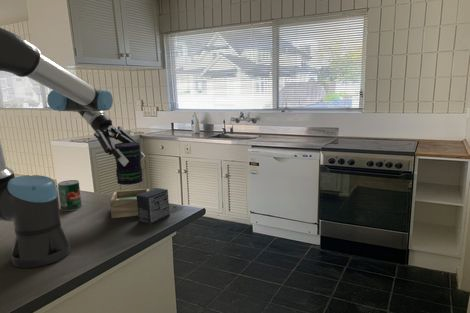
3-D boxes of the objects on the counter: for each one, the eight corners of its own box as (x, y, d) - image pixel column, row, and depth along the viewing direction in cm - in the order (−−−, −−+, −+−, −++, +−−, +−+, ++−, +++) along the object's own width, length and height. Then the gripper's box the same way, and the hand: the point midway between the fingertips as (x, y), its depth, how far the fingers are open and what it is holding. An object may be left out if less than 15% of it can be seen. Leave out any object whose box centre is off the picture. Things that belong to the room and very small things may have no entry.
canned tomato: (66, 205, 148) (63, 180, 146) (84, 204, 148) (82, 179, 146) (57, 211, 140) (54, 185, 138) (77, 210, 140) (74, 184, 138)
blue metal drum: (135, 176, 144) (132, 141, 141) (147, 181, 138) (145, 143, 135) (112, 181, 138) (109, 144, 135) (124, 186, 131) (121, 147, 128)
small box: (157, 212, 136) (156, 187, 134) (170, 215, 132) (168, 189, 130) (137, 221, 127) (135, 194, 125) (150, 225, 124) (148, 196, 122)
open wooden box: (149, 214, 134) (148, 198, 133) (111, 218, 131) (110, 201, 130) (150, 203, 147) (149, 188, 146) (116, 206, 145) (114, 191, 143)
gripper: (112, 123, 149) (146, 161, 147) (71, 130, 128) (110, 174, 126) (121, 111, 146) (156, 149, 144) (81, 115, 125) (121, 160, 123)
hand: (135, 161), depth 135 cm, fingers closed on blue metal drum, 10 cm apart
